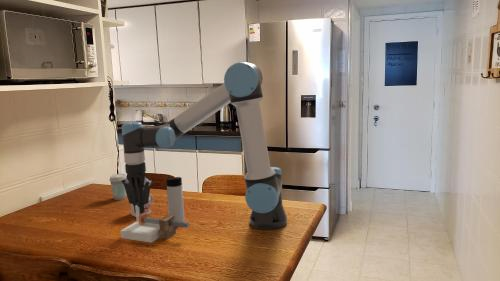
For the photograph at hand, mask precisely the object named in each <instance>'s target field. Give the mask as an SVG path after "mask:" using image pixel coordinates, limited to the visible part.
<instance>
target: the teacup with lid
mask: <svg viewBox="0 0 500 281" xmlns="http://www.w3.org/2000/svg"><path fill="white" fill-rule="evenodd" d="M153 203H154V196H153V195H152V194H151V193H150V194H149V202H148V203H147V204H145V205H144V209H145V212H144V213H146V216H148V215H150V214H151V213H152V204H153ZM129 206H130V214H131V216H133V217H136V213H135V212H134V205H133V204H130V203H129Z"/></svg>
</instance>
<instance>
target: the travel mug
mask: <svg viewBox="0 0 500 281" xmlns="http://www.w3.org/2000/svg"><path fill="white" fill-rule="evenodd" d="M182 180H183V179H182V177H180V176H177V177H168V178H166V180H165V182H166V195H167V208H168V210H167V211H168V215H174V219H175V221H183V222H186V220H185V209H184V207H185V206H184V194H183V192H184V191H183V181H182Z"/></svg>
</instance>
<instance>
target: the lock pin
mask: <svg viewBox="0 0 500 281" xmlns="http://www.w3.org/2000/svg"><path fill="white" fill-rule="evenodd" d="M138 217H139V225H143V224H145V223H153V224H159V220H160V219H161V218H158V217H150V216H149V217H148V215H146V213H144V214H142V215H140V216H138ZM169 226H175V228H176V227H177V228H186V229H188V228H189V227H190V222H189V221H185V222H183V221H175V220H170V221H169Z"/></svg>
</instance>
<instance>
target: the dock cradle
mask: <svg viewBox="0 0 500 281" xmlns="http://www.w3.org/2000/svg"><path fill="white" fill-rule="evenodd" d="M120 237H121V239H125V240H126V239H127V240H131V241H139V242H145V243H153V242H155V241H156V240H158V239H160V227H159V224H153V223H145V224H143V225H139V222H137V221H135V222H132V223H131V224H130V225H128V226H126V227H124V228H123V229H121V230H120Z"/></svg>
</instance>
